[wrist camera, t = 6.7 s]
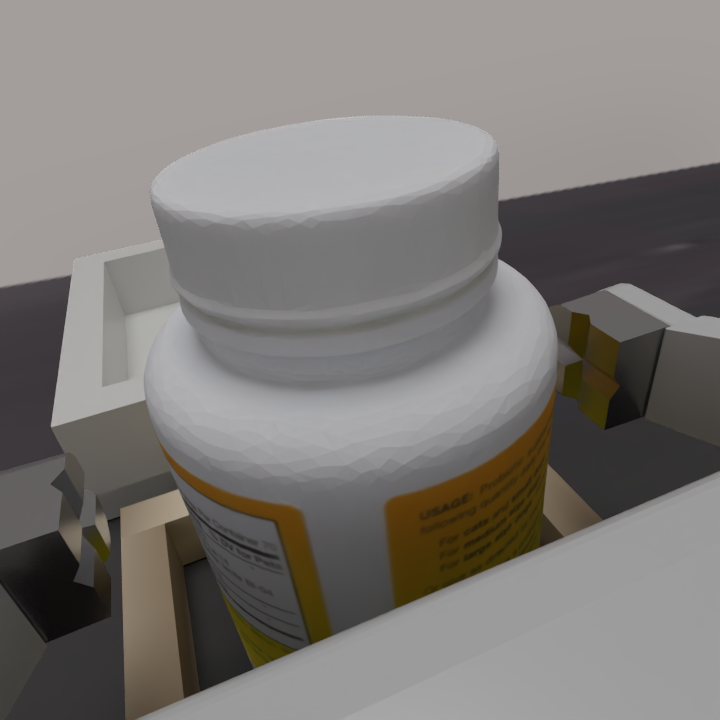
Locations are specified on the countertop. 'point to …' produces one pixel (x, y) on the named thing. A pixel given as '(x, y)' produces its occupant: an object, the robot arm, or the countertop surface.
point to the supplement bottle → (348, 370)
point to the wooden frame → (170, 602)
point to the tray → (114, 373)
